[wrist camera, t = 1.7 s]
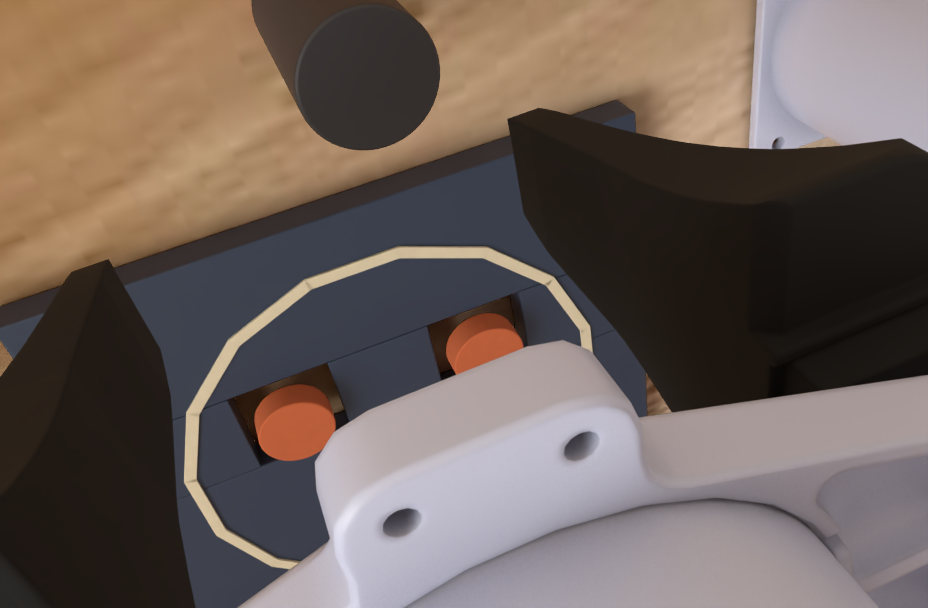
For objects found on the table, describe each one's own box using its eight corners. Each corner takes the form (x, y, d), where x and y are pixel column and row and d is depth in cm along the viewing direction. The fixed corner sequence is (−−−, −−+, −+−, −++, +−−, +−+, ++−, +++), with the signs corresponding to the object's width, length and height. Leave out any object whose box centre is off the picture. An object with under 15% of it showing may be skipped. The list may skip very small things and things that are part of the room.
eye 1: (318, 373, 28) (324, 391, 27) (338, 424, 29) (344, 443, 28) (243, 401, 27) (247, 420, 26) (268, 452, 29) (272, 472, 28)
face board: (617, 98, 27) (637, 113, 26) (637, 454, 38) (651, 473, 37) (-5, 306, 23) (-9, 333, 22) (218, 629, 35) (222, 656, 34)
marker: (341, -84, 21) (425, -15, 16) (369, 30, 23) (453, 126, 17) (227, -52, 20) (273, 30, 15) (265, 61, 22) (319, 170, 17)
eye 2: (508, 302, 29) (519, 318, 28) (517, 355, 30) (528, 372, 30) (439, 327, 28) (448, 344, 28) (452, 380, 30) (462, 398, 29)
